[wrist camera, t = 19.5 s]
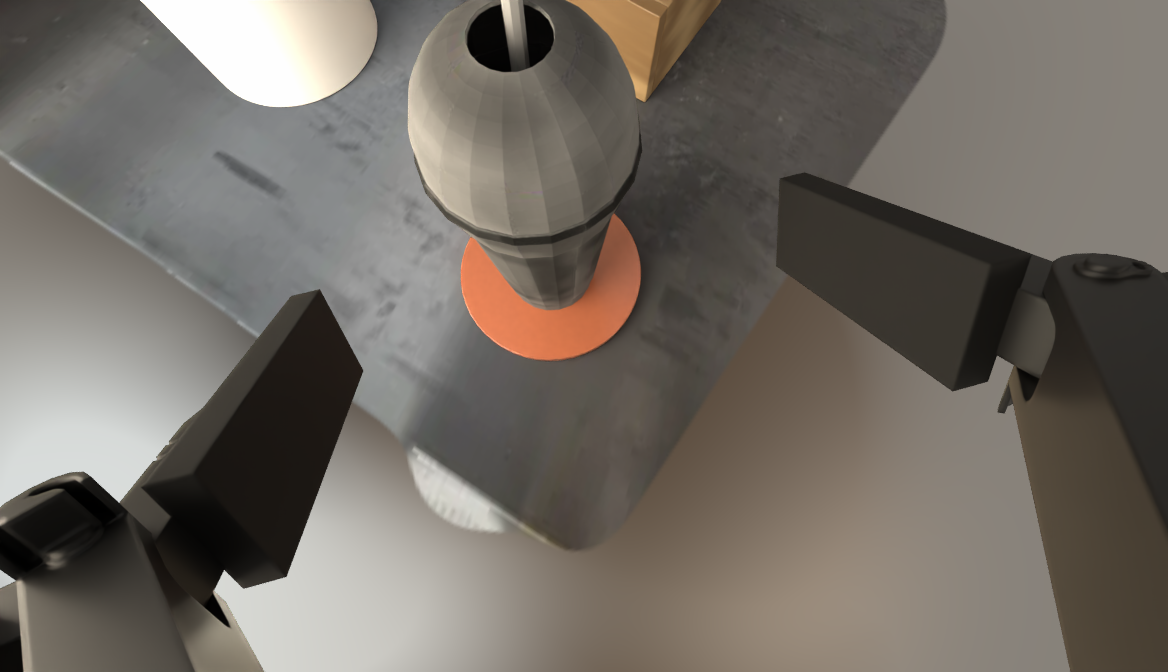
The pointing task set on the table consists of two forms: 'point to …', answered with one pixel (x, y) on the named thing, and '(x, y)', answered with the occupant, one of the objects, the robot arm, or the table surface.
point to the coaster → (555, 329)
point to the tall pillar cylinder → (275, 44)
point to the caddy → (649, 33)
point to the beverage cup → (526, 138)
